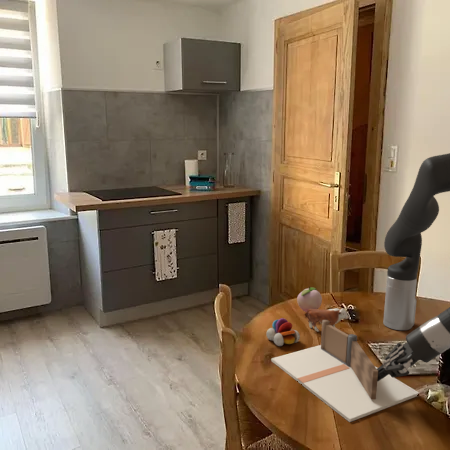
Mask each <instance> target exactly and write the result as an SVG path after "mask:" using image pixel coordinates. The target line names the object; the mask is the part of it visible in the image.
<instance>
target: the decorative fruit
mask: <svg viewBox="0 0 450 450" xmlns="http://www.w3.org/2000/svg"><path fill="white" fill-rule="evenodd" d="M296 302H297V304H298V307H299V309H301V310H302V311H303V312H305V313H307V311H308V310H309V309H318V310H319V309H320V307H321V306H322V302H323V298H322V295H321V293H320V291H318V290H317V288H315V287H312V286H308V288H305V289H303V290H302V291H301V292H300V293H299V294H298V295H297V298H296Z"/></svg>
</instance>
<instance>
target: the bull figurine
mask: <svg viewBox="0 0 450 450" xmlns="http://www.w3.org/2000/svg"><path fill="white" fill-rule="evenodd" d="M306 318H307V319H308V320H307V322H308V326H309V328H310V329H313V328H314V331H316V332H317V333H319V332H320V330H319V328H318V327H317V322H319V323H320V325H321V326H322V320H328V321H329V324H330V325H332V326H333V327H335V328H337V327H336V326H335V325H336V324H338V323H339V322H341V320H344V319H345V320H348V319H349V315H348V313H347V311H346V310H345V308H341V309H340V308H338V307H337V308H329V309H319V308H318V309H309V310H308V311H307V312H306Z"/></svg>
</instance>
